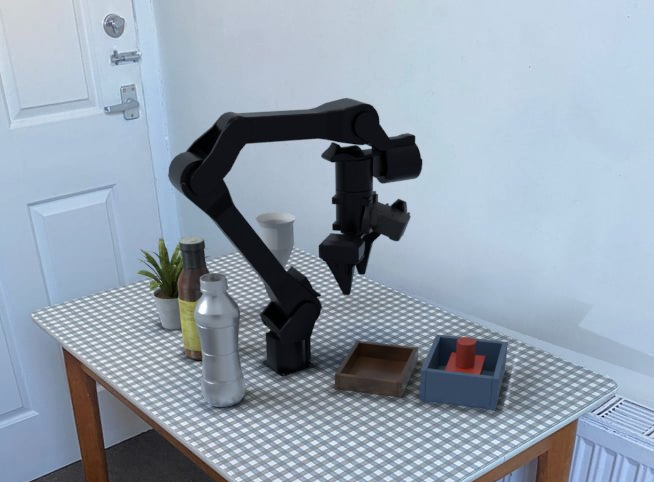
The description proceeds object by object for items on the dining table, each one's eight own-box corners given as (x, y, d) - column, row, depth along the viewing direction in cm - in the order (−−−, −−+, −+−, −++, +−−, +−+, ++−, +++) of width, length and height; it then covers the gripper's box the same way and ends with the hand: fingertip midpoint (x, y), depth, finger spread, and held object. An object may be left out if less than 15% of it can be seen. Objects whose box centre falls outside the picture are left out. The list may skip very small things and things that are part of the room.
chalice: (306, 308, 150) (303, 215, 141) (286, 321, 145) (282, 226, 136) (274, 301, 153) (269, 210, 144) (254, 314, 148) (247, 220, 139)
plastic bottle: (203, 392, 123) (189, 270, 113) (246, 389, 123) (236, 267, 113) (202, 414, 117) (187, 287, 107) (247, 410, 117) (237, 284, 107)
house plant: (192, 347, 137) (182, 257, 129) (122, 338, 141) (108, 250, 133) (225, 315, 148) (218, 230, 140) (160, 307, 153) (149, 225, 144)
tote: (419, 403, 117) (420, 369, 115) (434, 365, 128) (436, 334, 125) (495, 413, 114) (498, 379, 111) (504, 373, 125) (508, 341, 122)
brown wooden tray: (334, 391, 121) (334, 374, 120) (356, 356, 132) (356, 340, 130) (401, 400, 118) (401, 382, 117) (417, 363, 129) (418, 347, 127)
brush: (477, 398, 117) (480, 353, 113) (442, 394, 118) (444, 349, 115) (483, 375, 123) (487, 332, 119) (450, 371, 125) (453, 328, 121)
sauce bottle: (215, 362, 131) (203, 248, 121) (179, 360, 133) (165, 246, 123) (226, 345, 137) (215, 234, 127) (192, 343, 138) (179, 233, 128)
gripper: (392, 208, 110) (390, 311, 118) (418, 174, 125) (415, 268, 133) (316, 203, 113) (319, 304, 121) (351, 171, 128) (351, 263, 136)
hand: (354, 284), depth 127 cm, fingers open, 9 cm apart
